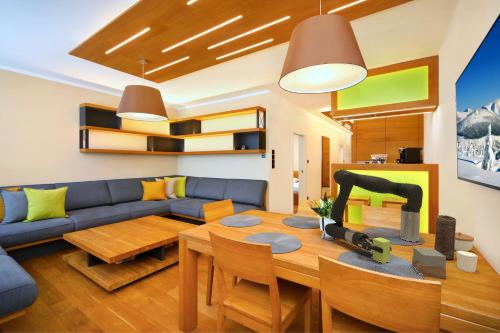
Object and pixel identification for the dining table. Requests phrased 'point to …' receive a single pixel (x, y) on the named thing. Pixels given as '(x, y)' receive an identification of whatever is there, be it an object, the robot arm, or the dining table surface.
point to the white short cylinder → (466, 261)
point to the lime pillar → (386, 249)
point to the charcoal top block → (429, 257)
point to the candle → (445, 235)
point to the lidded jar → (463, 242)
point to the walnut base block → (429, 270)
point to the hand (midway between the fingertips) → (386, 250)
